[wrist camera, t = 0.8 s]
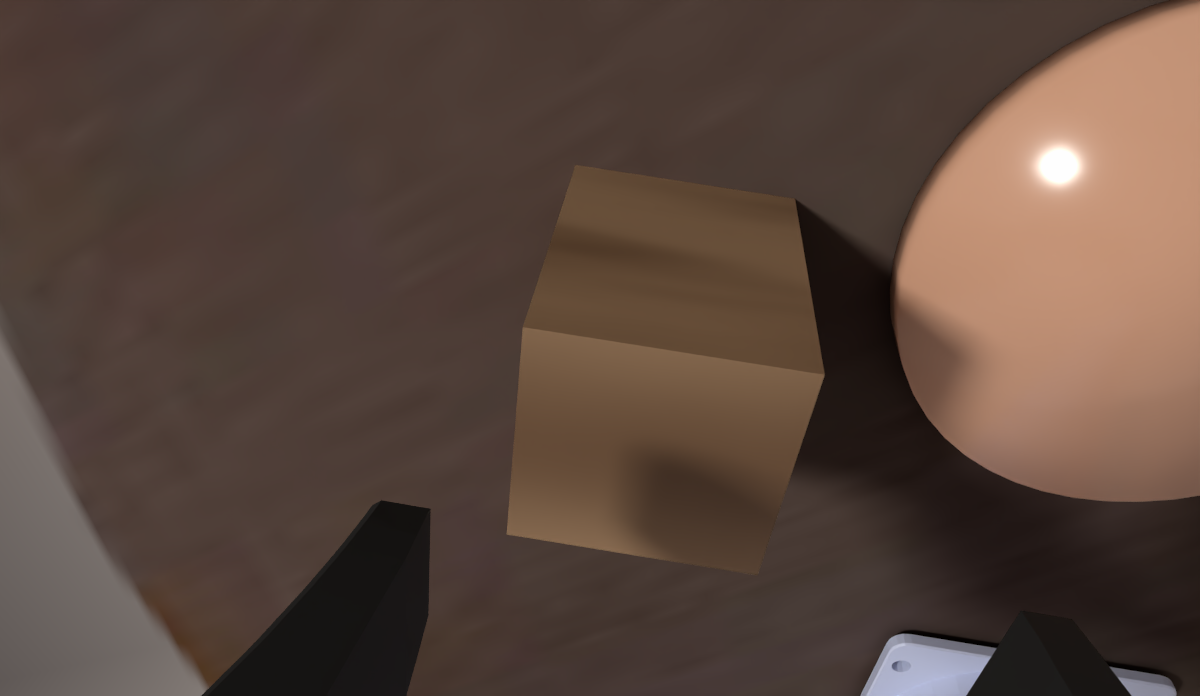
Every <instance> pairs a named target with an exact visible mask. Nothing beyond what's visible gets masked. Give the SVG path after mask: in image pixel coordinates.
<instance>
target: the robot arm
mask: <svg viewBox="0 0 1200 696" xmlns="http://www.w3.org/2000/svg"><path fill="white" fill-rule="evenodd" d="M429 554H430V509H428V508H422V507H416V506H411V505H405V504H399V503H393V502H387V501H382V500H381V501H379V502H378V503H376V504H374V505H372V507H371V508H370V509H369V511H368V512H367V513H366V515H365V516H364V517H363V519H362V520H361V521H360V523H359V524H358V525H357V526H356V528H355V529H354V530H353V531H352V533H351V534H350V535H349V536H348V538H347V539H346V540H345V541H344V543H343V544H342V545H341V546H340V548H339V549H338V550H337V551H336V552H335V554H334V555H333V556H332V557H331V558H330V560H329V561H328V562H327V563H326V564H325V566H324V567H323V568H322V569H321V570H320V571H319V572H318V574H317V575H316V576H315V577H314V578H313V579H312V581H311V582H310V583H309V584H308V585H307V586H306V588H305V589H304V590H303V591H302V592H301V593H300V594H299V595H298V596H297V598H296V599H295V600H294V601H293V602H292V603H291V604H290V605H289V606H288V607H287V608H286V609H285V611H284V612H283V613H282V614H281V615H280V616H279V617H278V618H277V619H276V620H275V621H274V622H273V624H272V625H271V626H270V627H269V628H268V629H267V630H266V631H265V632H264V633H263V634H262V635H261V637H260V638H259V639H258V640H257V641H256V642H255V643H254V644H253V645H252V646H251V647H250V648H249V649H248V650H247V651H246V652H245V653H244V654H243V655H242V656H241V657H240V658H239V659H238V660H237V661H236V662H235V663H234V664H233V665H232V666H231V667H230V668H229V669H228V670H227V671H226V672H225V673H224V674H223V675H222V676H221V677H220V678H219V679H218V680H217V681H216V682H215V683H214V684H213V685H212V686H211V687H210V688H209V689H208V690H207V691H206V692H205V693H204V694H203V695H202V696H406V695H407V691H408V687H409V684H410V680H411V677H412V673H413V670H414V666H415V663H416V659H417V655H418V652H419V648H420V644H421V640H422V637H423V633H424V629H425V626H426V622H427V618H428V603H429ZM1176 695H1177V693H1176V689H1175V687H1174V685H1173V683H1172V681H1171V680H1170V679H1169V678H1168V677H1165V676H1161V675H1157V674H1151V673H1145V672H1139V671H1133V670H1127V669H1121V668H1115V667H1109V666H1108V664H1107V663H1106V662H1105V660H1104V659H1103V658H1102V657H1101V655H1100V654H1099V653H1098V651H1097V650H1096V649H1095V648H1094V646H1093V645H1092V644H1091V643H1090V641H1089V640H1088V639H1087V637H1086V636H1085V635H1084V634H1083V632H1082V631H1081V630H1080V629H1079V628H1078V626H1077V625H1076V624H1075V623H1074V621H1073V620H1072V619H1068V618H1062V617H1056V616H1050V615H1044V614H1038V613H1033V612H1027V611H1020V613H1019V614H1018V616H1017V618H1016V619H1015V621H1014V622H1013V624H1012V625H1011V627H1010V628H1009V630H1008V632H1007V633H1006V635H1005V636H1004V638H1003V639H1002V641H1001V642H1000V644H999V645H998V647H997V648H993V647H987V646H981V645H975V644H969V643H963V642H956V641H950V640H944V639H938V638H932V637H926V636H920V635H914V634H898V635H895V636H893V637H892V638H890V639H889V641H888V642H887V643H886V645H885V647H884V649H883V651H882V653H881V655H880V657H879V659H878V661H877V663H876V665H875V667H874V669H873V671H872V673H871V675H870V677H869V679H868V681H867V683H866V685H865V687H864V689H863V691H862V693H861V695H860V696H1176Z"/></svg>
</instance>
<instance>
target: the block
mask: <svg viewBox="0 0 1200 696" xmlns="http://www.w3.org/2000/svg"><path fill="white" fill-rule="evenodd" d="M824 376H825V373H824V367H823V361H822V356H821V350H820V344H819V338H818V332H817V326H816V320H815V314H814V308H813V302H812V296H811V290H810V285H809V279H808V273H807V267H806V261H805V255H804V249H803V243H802V237H801V231H800V225H799V219H798V214H797V208H796V202H795V199H793V198H786V197H780V196H773V195H767V194H760V193H754V192H747V191H741V190H734V189H728V188H722V187H715V186H709V185H702V184H696V183H689V182H683V181H676V180H670V179H663V178H657V177H650V176H644V175H637V174H631V173H624V172H618V171H611V170H605V169H598V168H592V167H585V166H579V165H575V168H574V171H573V175H572V178H571V181H570V184H569V187H568V190H567V193H566V196H565V199H564V202H563V205H562V208H561V211H560V215H559V218H558V221H557V224H556V227H555V230H554V233H553V236H552V239H551V242H550V245H549V248H548V251H547V255H546V258H545V261H544V264H543V267H542V270H541V273H540V276H539V279H538V282H537V285H536V288H535V292H534V295H533V298H532V301H531V304H530V307H529V310H528V313H527V316H526V319H525V322H524V325H523V333H522V345H521V358H520V371H519V384H518V397H517V409H516V422H515V435H514V448H513V461H512V473H511V486H510V499H509V512H508V525H507V534H508V535H514V536H520V537H526V538H532V539H538V540H545V541H551V542H557V543H563V544H569V545H575V546H581V547H587V548H594V549H600V550H606V551H612V552H618V553H624V554H630V555H636V556H643V557H649V558H655V559H661V560H667V561H673V562H679V563H685V564H692V565H698V566H704V567H710V568H716V569H722V570H728V571H734V572H741V573H747V574H753V575H758V572H759V569H760V566H761V563H762V560H763V557H764V554H765V551H766V548H767V545H768V542H769V539H770V536H771V533H772V530H773V528H774V525H775V522H776V519H777V516H778V513H779V510H780V507H781V504H782V501H783V498H784V495H785V492H786V489H787V486H788V483H789V480H790V477H791V474H792V471H793V468H794V465H795V462H796V459H797V456H798V453H799V450H800V447H801V444H802V441H803V438H804V435H805V432H806V429H807V426H808V423H809V420H810V417H811V414H812V411H813V408H814V405H815V403H816V400H817V397H818V394H819V391H820V388H821V385H822V382H823V379H824Z"/></svg>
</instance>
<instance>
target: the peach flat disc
mask: <svg viewBox="0 0 1200 696" xmlns="http://www.w3.org/2000/svg"><path fill="white" fill-rule="evenodd" d="M890 312H891V321H892V326H893V331H894V336H895V341H896V345H897V348H898V352H899V355H900V359H901V362H902V365H903V369H904V372H905V374H906V377H907V379H908V382H909V385H910V387H911V390H912V392H913V395H914V396H915V398H916V400H917V401H918V403H919V405H920V406H921V408H922V410H923V411H924V413H925V415H926V416H927V418H928V419H929V420H930V421H931V423H932V424H933V425H934V426H935V427H936V428H937V430H938V431H939V432H940V433H941V434H942V435H943V437H944V438H945V439H947V440H948V441H949V442H950V443H951V444H952V445H954V446H955V447H956V448H957V449H958V450H959V451H961V452H962V453H963V454H964V455H966V456H967V457H969V458H970V459H972V460H973V461H975V462H977V463H978V464H980V465H981V466H983V467H984V468H986V469H988V470H990V471H992V472H994V473H996V474H998V475H1000V476H1002V477H1005V478H1007V479H1009V480H1011V481H1013V482H1016V483H1019V484H1022V485H1025V486H1028V487H1031V488H1034V489H1037V490H1040V491H1044V492H1048V493H1053V494H1058V495H1063V496H1067V497H1072V498H1080V499H1089V500H1098V501H1119V502H1144V501H1159V500H1174V499H1181V498H1187V497H1194V496H1200V0H1169V1H1165V2H1162V3H1159V4H1155V5H1152V6H1149V7H1146V8H1144V9H1142V10H1139V11H1137V12H1134V13H1132V14H1129V15H1127V16H1124V17H1122V18H1120V19H1117V20H1115V21H1112V22H1110V23H1107V24H1105V25H1103V26H1101V27H1099V28H1097V29H1096V30H1094V31H1092V32H1090V33H1088V34H1086V35H1084V36H1083V37H1081V38H1079V39H1077V40H1075V41H1073V42H1071V43H1069V44H1068V45H1066V46H1064V47H1062V48H1061V49H1059V50H1058V51H1056V52H1055V53H1053V54H1052V55H1050V56H1049V57H1047V58H1046V59H1044V60H1043V61H1041V62H1040V63H1038V64H1037V65H1035V66H1034V67H1032V68H1031V69H1029V70H1028V71H1026V72H1025V73H1023V74H1022V75H1021V76H1020V77H1019V78H1017V79H1016V80H1015V81H1014V82H1013V83H1011V84H1010V85H1009V86H1008V87H1007V88H1005V89H1004V90H1003V91H1002V92H1001V93H999V94H998V95H997V96H996V97H995V98H993V99H992V100H991V101H990V102H989V103H988V104H987V105H986V106H985V107H984V108H983V109H982V110H981V111H980V112H979V113H978V114H977V115H976V116H975V117H974V118H973V119H972V120H971V121H970V122H969V123H968V124H967V125H966V126H965V128H964V129H963V130H962V131H961V132H960V133H959V134H958V135H957V137H956V138H955V139H954V140H953V142H952V143H951V144H950V146H949V147H948V148H947V149H946V151H945V152H944V153H943V155H942V156H941V157H940V159H939V160H938V161H937V162H936V164H935V165H934V167H933V169H932V170H931V172H930V174H929V175H928V177H927V179H926V180H925V182H924V184H923V185H922V187H921V189H920V190H919V192H918V194H917V195H916V197H915V200H914V202H913V204H912V206H911V209H910V211H909V213H908V216H907V218H906V220H905V223H904V225H903V227H902V230H901V234H900V237H899V241H898V245H897V248H896V252H895V255H894V259H893V267H892V275H891V283H890Z"/></svg>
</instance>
